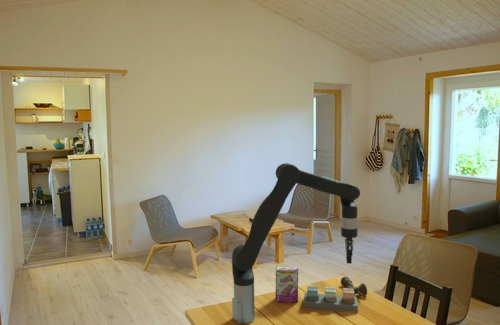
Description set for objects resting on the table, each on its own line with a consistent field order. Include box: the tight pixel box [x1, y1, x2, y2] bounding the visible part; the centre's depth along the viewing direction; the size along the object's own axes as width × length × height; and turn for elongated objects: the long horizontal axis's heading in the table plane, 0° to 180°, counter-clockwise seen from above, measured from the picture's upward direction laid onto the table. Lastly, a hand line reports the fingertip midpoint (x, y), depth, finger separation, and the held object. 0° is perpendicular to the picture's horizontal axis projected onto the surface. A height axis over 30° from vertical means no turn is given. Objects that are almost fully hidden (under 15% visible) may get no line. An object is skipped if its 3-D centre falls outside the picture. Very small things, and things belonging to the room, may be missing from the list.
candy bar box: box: [275, 266, 299, 303], centre depth 199 cm, size 11×5×16 cm, turn 84°
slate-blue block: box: [306, 285, 319, 301], centre depth 195 cm, size 5×5×5 cm
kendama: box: [340, 276, 368, 297], centre depth 207 cm, size 6×10×20 cm
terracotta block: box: [342, 287, 355, 303], centre depth 191 cm, size 5×5×5 cm
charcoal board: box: [303, 292, 359, 313], centre depth 193 cm, size 10×25×3 cm, turn 79°
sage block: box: [324, 286, 337, 302], centre depth 193 cm, size 5×5×5 cm
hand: (348, 261), depth 190 cm, fingers open, 2 cm apart
